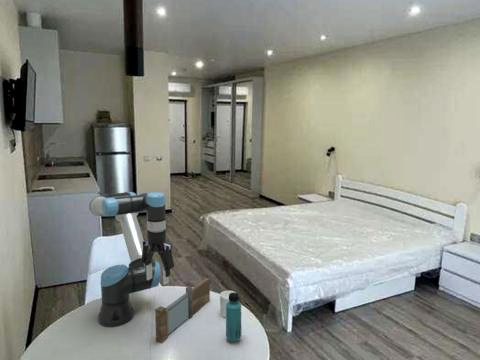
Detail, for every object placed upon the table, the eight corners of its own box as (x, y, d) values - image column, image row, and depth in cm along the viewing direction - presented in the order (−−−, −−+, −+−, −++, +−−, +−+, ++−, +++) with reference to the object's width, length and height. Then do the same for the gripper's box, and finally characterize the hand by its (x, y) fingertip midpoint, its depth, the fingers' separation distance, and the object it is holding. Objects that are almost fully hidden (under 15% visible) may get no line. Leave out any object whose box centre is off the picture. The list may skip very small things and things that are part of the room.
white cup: (234, 320, 155) (234, 299, 153) (217, 318, 156) (217, 297, 155) (238, 311, 163) (238, 291, 161) (222, 309, 164) (222, 289, 163)
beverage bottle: (235, 346, 136) (236, 300, 133) (222, 341, 140) (222, 295, 136) (244, 338, 142) (245, 293, 139) (231, 333, 145) (231, 289, 142)
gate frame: (156, 341, 139) (155, 309, 137) (205, 299, 173) (205, 273, 171) (161, 343, 137) (161, 311, 135) (210, 301, 171) (210, 274, 169)
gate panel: (184, 316, 156) (184, 292, 154) (189, 317, 155) (188, 293, 153) (162, 334, 142) (161, 308, 140) (166, 336, 141) (166, 310, 139)
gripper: (130, 228, 143) (132, 279, 147) (171, 236, 134) (172, 290, 138) (143, 224, 150) (144, 272, 153) (182, 231, 141) (183, 282, 144)
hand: (157, 281), depth 145 cm, fingers open, 8 cm apart
